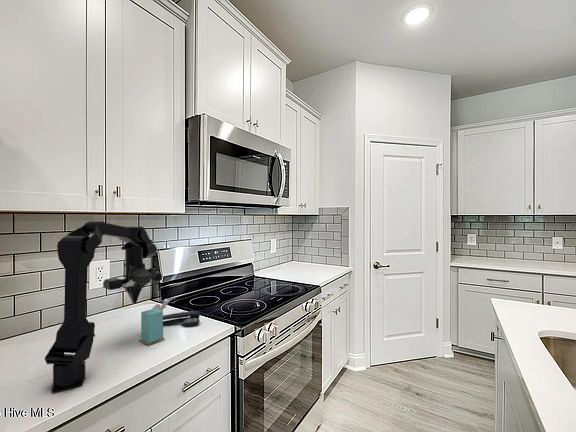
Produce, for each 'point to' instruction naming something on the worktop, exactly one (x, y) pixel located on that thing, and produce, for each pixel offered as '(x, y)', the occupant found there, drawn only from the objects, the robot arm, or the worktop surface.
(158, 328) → the teal rectangular block
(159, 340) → the brown pedestal
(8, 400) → the worktop surface
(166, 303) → the light grey forked piece
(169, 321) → the can opener
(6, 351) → the worktop surface
